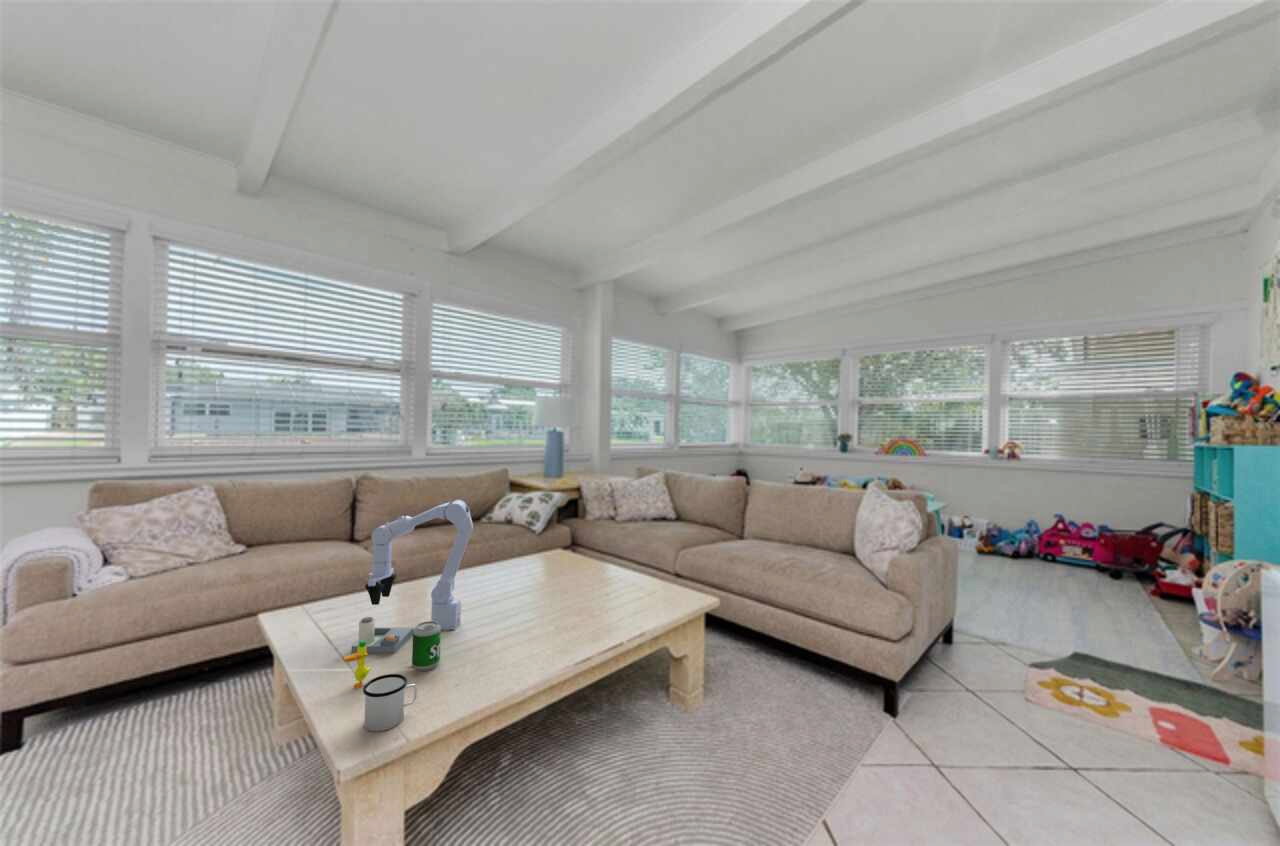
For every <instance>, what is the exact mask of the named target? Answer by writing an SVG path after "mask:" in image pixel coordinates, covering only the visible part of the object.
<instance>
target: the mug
mask: <svg viewBox="0 0 1280 846" xmlns="http://www.w3.org/2000/svg"><path fill="white" fill-rule="evenodd" d="M411 687H414V690H413V691H414V694H413V699H412V700H410V701H408V702H405V690H406V689H409V688H411ZM417 689H418V688H417V684H416V683H409V684H408V679H407V677H406V675H403V674H399V673H388V674H383V675H379V676H377V677H374V678H372V679H370V680H369V681H367V682H366V683H365V684H363V686H362V693H363V694H364V695H365V698H364V699H365V700H364V720H363V721H364V723H363V724H364V725H363V726H364V728H365V729H366V730H367V731H371V732H384V731H388V730H390V729H392V728H394V727H396V726H398V724H399V725H400V723H401V722H402V721H403V719H404V716H405V715H404V713H405V712H404V711H405V707H408V706H409V705H413V704H414V703H415V702H416V700H417V693H418V691H417Z"/></svg>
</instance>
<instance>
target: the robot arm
mask: <svg viewBox="0 0 1280 846" xmlns="http://www.w3.org/2000/svg"><path fill="white" fill-rule="evenodd" d="M470 509H471V508H470V507H469V506H468V505H467V503H466V502H465V501H464V500H463V499H455V500H453V501H452V502H451V501H449V502H446V503H445V502H444V503H442V504H439V505H437V506H435V507H433V508H431V509H428V510H426V511H424V512H421V513H420V514H417V515H415V516H409V515H405V516H404V515H401V516H399V517H398V519H396V520H394V521H391V522H389V521H388V522H385V523H384V524H383V525H380V526H379V527H377V528H375V529H374V530H373V531H372V533H371V537H370V538H371V541H372V542H373V546H372V548H373V549H372V567H371V569H372V571H371V572H369V573H368V577H370V578H369V579H368V582H367V583H366V584H365V585H364V589H366V591H367V593H368V595H369V600H370V603H371V605H373V606H378V605H379V604H380V602H381V597H382V598H388V597H390V595H391V591H392V588H393V584H394V582H395V580H396V579H397V574H396V573H394V570H395V569H394V567H392V550H393V549H392V541H393V540H392V539H397V538H399V537H401V536H404V535H407V534H409V533H411V532H414V529H415V527H416V526H418V525H421V524H424V523H426V522H429V521H431V520H434V519H437V518H438V519H441V520H445V519H447V520H448V521H449V522H451V524H453V525H454V527H455V528H456V530H457V533H456V535H455V536H456V537H455V538H454V541H453V544H452V546H451V548H450V551H449V554H448V557H447V560H446V562H445V565H444V568H443V570H442V573H441V575H440V577H439V580H438V581H437V582H436V583H435V586H434V588H433V589H432V591H431V593H430V597H431V614H430V615H431V616H430V621H432V622H437V623H438V625H440V627H441V630H449V631H451V630H455V629H457V627H458V626H459V624H460V623H461V622H462V620H461V615H462V614H461V611H462V610H461V609H462V604H461V600H457V599H455V598H454V595H453V594H452V593H453V591H454V590H455V579H456V576H457V573H458V570H459V568H460V564H461V561H462V559H463V556H464V554H465V551H466V547H467V546H468V543H469V540H470V538H471V534H472V533H473V530H474V524H473V520H472V516H471V511H470Z"/></svg>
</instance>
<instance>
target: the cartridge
mask: <svg viewBox="0 0 1280 846" xmlns="http://www.w3.org/2000/svg"><path fill="white" fill-rule="evenodd" d="M375 628H376V619H375V618H373V617H371V616H367V617H363V618H362V619H360V621H359V622H358V640H357V641H358V643H359V644H360V641H362V640H365V641H366V643H365V644H370V643H372V642H374V639H375Z"/></svg>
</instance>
